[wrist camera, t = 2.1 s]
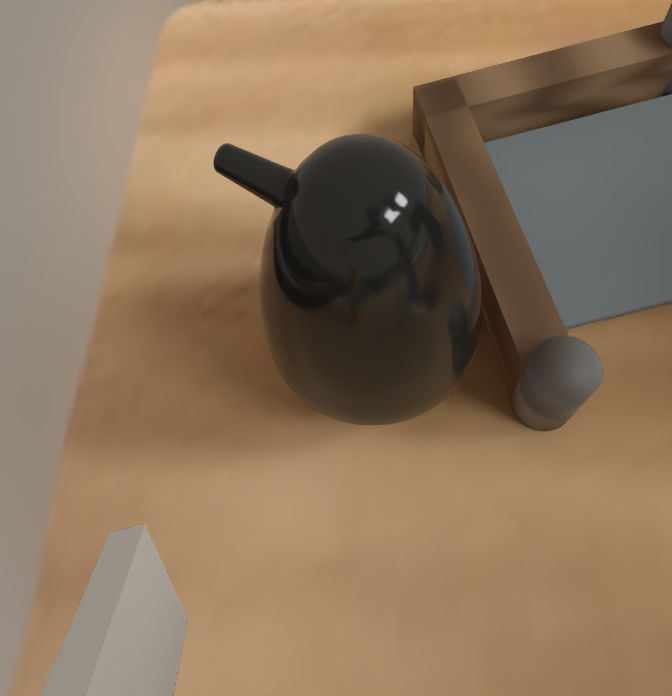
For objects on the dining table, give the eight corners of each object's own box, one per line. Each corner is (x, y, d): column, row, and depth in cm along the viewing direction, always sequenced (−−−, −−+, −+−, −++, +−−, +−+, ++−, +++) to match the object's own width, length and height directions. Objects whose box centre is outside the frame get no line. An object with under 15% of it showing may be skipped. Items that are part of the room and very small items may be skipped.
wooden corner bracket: (676, 58, 38) (713, -17, 33) (869, 348, 29) (955, 302, 25) (408, 128, 38) (408, 63, 33) (523, 437, 29) (545, 408, 25)
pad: (678, 96, 36) (681, 91, 36) (791, 271, 31) (795, 267, 31) (475, 149, 37) (476, 144, 36) (553, 332, 31) (555, 329, 31)
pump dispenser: (321, 251, 35) (266, 22, 21) (494, 299, 32) (561, 76, 19) (251, 405, 32) (130, 256, 18) (437, 473, 29) (467, 360, 15)
